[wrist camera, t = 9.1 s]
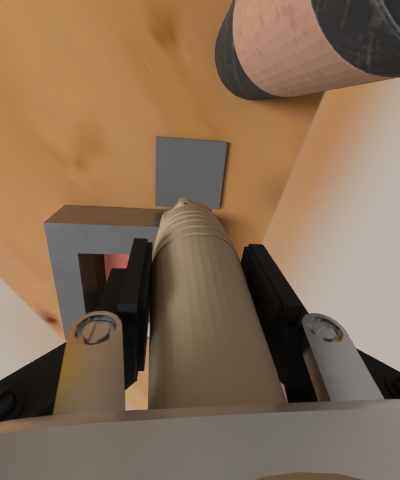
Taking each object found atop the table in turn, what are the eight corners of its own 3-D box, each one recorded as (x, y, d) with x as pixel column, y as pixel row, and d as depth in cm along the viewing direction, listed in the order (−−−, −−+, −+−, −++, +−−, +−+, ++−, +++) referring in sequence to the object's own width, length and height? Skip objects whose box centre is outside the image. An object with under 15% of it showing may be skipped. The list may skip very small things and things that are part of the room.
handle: (241, 182, 15) (669, 661, 2) (207, 269, 18) (308, 715, 5) (162, 158, 14) (83, 841, 1) (138, 254, 17) (33, 783, 4)
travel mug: (235, 119, 25) (394, 127, 7) (195, 34, 22) (302, -317, 4) (306, 72, 24) (698, -51, 6) (274, -24, 21) (895, -849, 3)
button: (105, 242, 29) (103, 246, 28) (159, 243, 30) (159, 248, 29) (109, 285, 32) (107, 291, 30) (158, 286, 32) (158, 292, 31)
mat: (156, 136, 25) (156, 136, 25) (226, 142, 26) (227, 142, 26) (155, 205, 28) (155, 206, 28) (218, 208, 29) (219, 209, 29)
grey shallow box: (64, 205, 27) (42, 223, 22) (196, 211, 29) (201, 229, 24) (79, 309, 33) (64, 341, 28) (188, 309, 35) (191, 338, 30)
